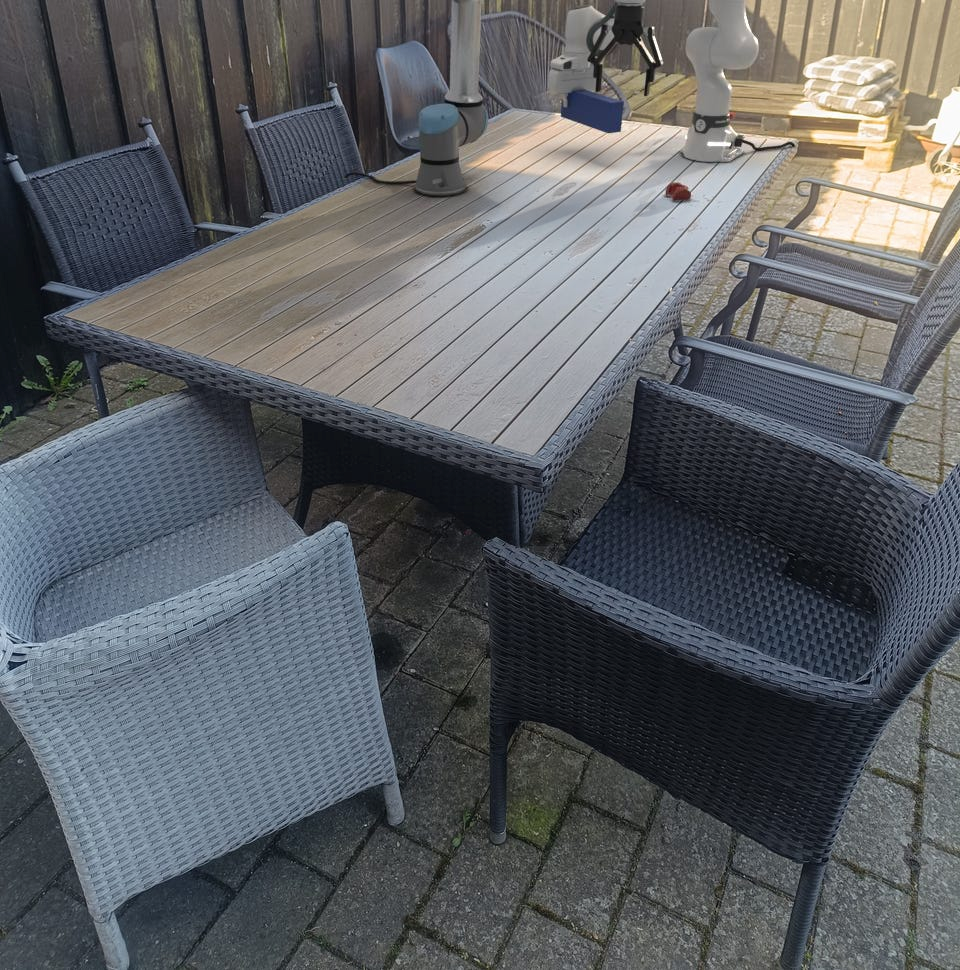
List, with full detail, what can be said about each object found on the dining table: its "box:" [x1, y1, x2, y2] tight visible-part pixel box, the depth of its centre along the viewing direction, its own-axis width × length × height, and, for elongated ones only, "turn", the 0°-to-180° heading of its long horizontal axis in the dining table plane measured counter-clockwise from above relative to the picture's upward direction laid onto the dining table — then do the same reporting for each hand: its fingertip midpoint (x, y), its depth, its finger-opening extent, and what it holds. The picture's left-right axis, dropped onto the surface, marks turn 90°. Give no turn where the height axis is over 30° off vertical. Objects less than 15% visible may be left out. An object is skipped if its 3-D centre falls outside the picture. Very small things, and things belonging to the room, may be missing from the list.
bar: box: [560, 90, 625, 134], centre depth 279 cm, size 28×5×9 cm, turn 29°
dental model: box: [665, 181, 692, 202], centre depth 251 cm, size 6×4×8 cm
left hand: (622, 93), depth 230 cm, fingers open, 13 cm apart
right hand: (573, 106), depth 286 cm, fingers closed on bar, 5 cm apart
